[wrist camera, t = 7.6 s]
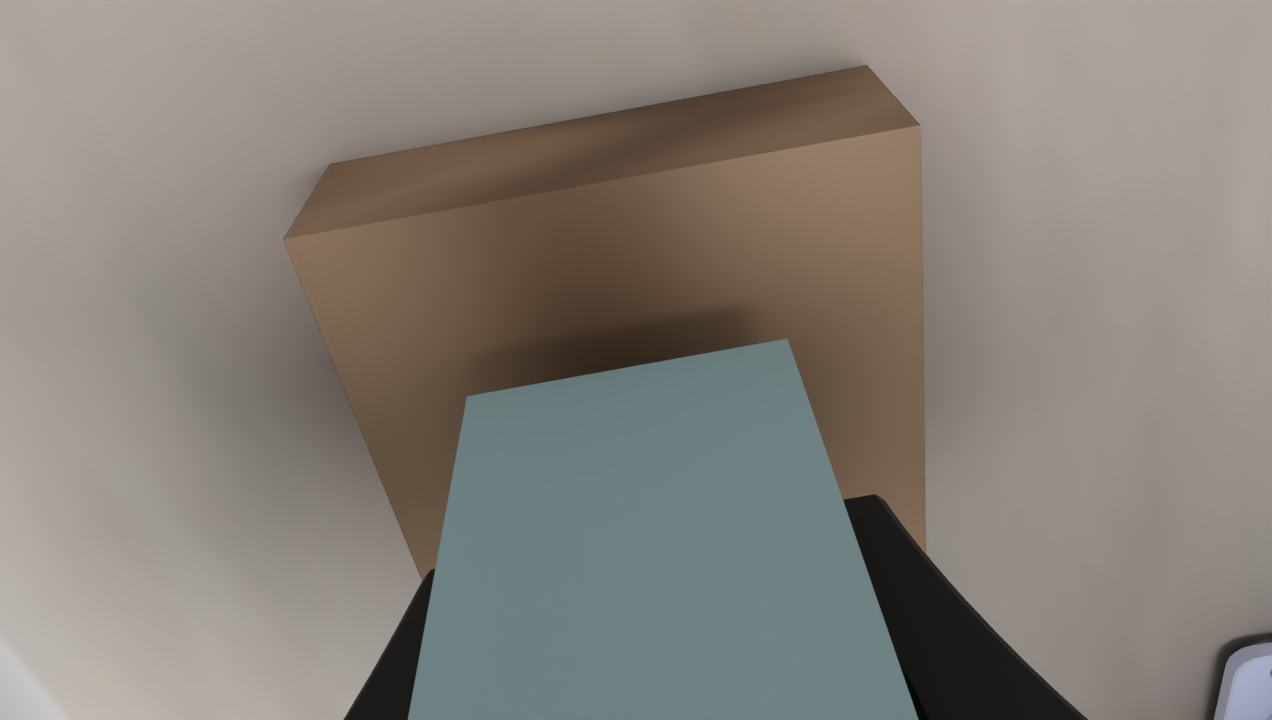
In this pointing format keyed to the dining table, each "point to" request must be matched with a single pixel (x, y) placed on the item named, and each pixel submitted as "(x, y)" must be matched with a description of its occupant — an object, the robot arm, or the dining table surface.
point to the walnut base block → (631, 272)
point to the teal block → (653, 556)
